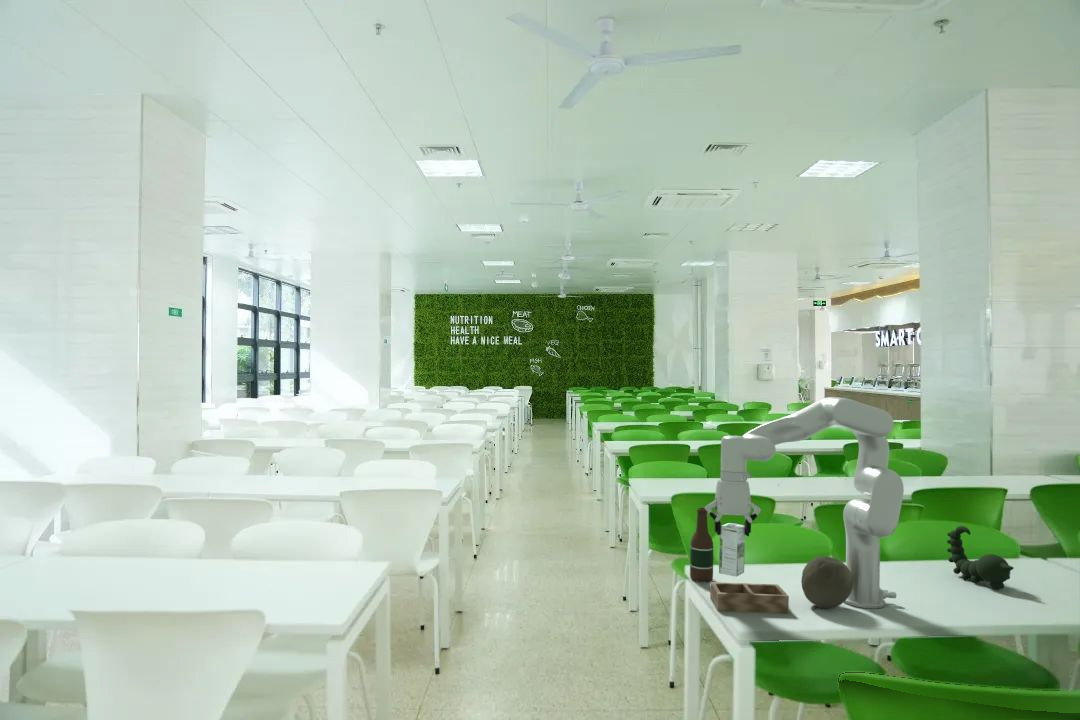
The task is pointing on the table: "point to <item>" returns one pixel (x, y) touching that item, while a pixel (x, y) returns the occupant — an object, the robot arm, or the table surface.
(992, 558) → the toy figurine
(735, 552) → the syrup box
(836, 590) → the cantaloupe
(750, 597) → the slot rack
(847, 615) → the table surface
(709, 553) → the beer bottle
